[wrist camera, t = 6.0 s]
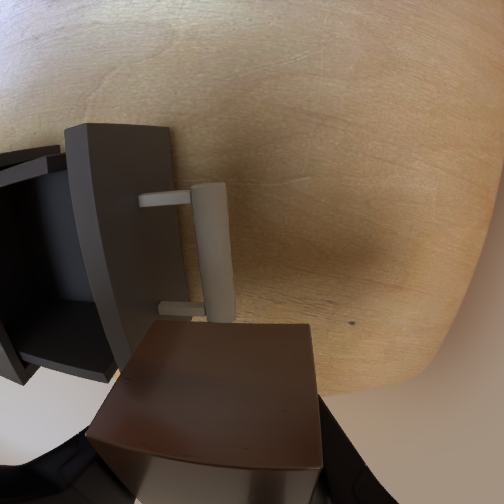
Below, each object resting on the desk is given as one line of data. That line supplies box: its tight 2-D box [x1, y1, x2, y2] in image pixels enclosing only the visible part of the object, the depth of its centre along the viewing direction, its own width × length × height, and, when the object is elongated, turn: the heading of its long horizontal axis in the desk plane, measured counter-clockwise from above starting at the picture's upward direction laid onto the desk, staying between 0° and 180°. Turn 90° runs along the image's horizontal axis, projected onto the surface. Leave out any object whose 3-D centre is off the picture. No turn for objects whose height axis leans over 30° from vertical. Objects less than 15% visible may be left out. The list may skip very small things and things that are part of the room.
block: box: [85, 319, 323, 504], centre depth 8 cm, size 5×5×5 cm
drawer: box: [0, 123, 237, 383], centre depth 16 cm, size 20×14×9 cm
